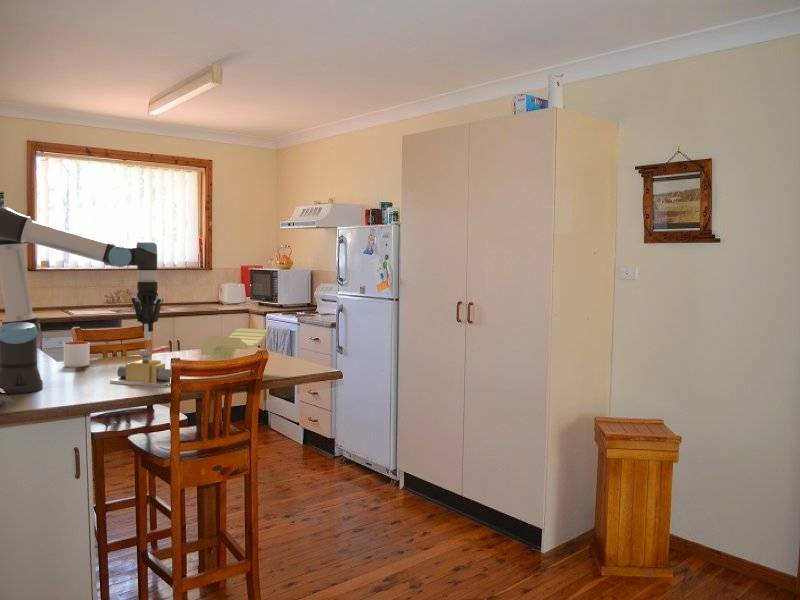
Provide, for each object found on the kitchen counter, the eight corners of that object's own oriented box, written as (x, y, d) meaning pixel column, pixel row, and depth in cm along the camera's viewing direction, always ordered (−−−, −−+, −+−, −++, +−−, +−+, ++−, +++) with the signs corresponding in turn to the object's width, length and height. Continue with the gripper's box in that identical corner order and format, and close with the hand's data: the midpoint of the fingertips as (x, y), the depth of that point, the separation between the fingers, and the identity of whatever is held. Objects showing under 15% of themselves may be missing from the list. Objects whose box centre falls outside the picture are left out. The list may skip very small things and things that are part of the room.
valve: (179, 381, 246) (180, 354, 245) (163, 387, 234) (163, 359, 233) (129, 377, 250) (129, 351, 249) (109, 383, 238) (110, 356, 237)
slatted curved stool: (232, 367, 279) (233, 327, 278) (266, 369, 276) (267, 329, 275) (200, 380, 249) (201, 335, 248) (238, 382, 247) (239, 337, 246)
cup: (82, 368, 266) (82, 345, 265) (58, 367, 266) (58, 344, 265) (94, 364, 276) (94, 341, 275) (71, 363, 276) (71, 341, 275)
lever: (147, 356, 239) (147, 351, 238) (137, 355, 239) (137, 350, 239) (171, 349, 255) (171, 345, 255) (162, 349, 256) (162, 345, 256)
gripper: (167, 281, 252) (167, 339, 254) (138, 280, 254) (138, 337, 256) (157, 281, 245) (157, 341, 246) (126, 280, 247) (127, 340, 249)
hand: (147, 339), depth 251 cm, fingers closed
